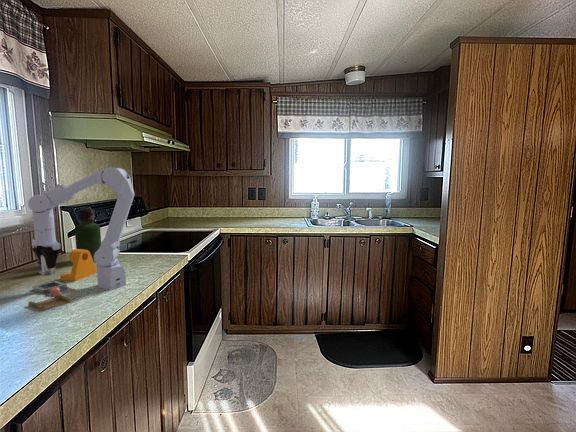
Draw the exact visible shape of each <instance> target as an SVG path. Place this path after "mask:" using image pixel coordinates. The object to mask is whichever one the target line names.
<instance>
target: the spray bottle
mask: <svg viewBox="0 0 576 432" xmlns="http://www.w3.org/2000/svg"><path fill="white" fill-rule="evenodd" d="M77 217H78V220H79V222H81V223H79V224H77V225H76V226H74V236H75V237H74V238H75V249H83V250H88V251H89V252H90V254H91V256H92V259H93V261H94V254H95V252H96V251H97V250H98V249H99V248H100V245H101V243H102V237H101V227H100V225H99V224H98V223H96V222H94V221H95V220H96V213H95V210H94V208H91V207H85V208H79V210H78V212H77ZM94 262H95V261H94Z"/></svg>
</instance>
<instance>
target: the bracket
mask: <svg viewBox="0 0 576 432" xmlns="http://www.w3.org/2000/svg"><path fill="white" fill-rule="evenodd" d="M68 257H69V261H70V262H71V263H72V266H71V271H69V272H66V273H63V274H60V276H59V277H60V281H66V282H67V281H69V282H70V281H71V282H77V281H80V280H82V279H85V278H87V277H90V276H92V275H95V274H97V265H96V264H95V261H93V259H92V256H91V254H90V252H89V251H88V250H83V249H76V248H74V249H72V250H71V251H70V253H69V255H68Z"/></svg>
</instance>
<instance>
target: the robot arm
mask: <svg viewBox="0 0 576 432" xmlns="http://www.w3.org/2000/svg"><path fill="white" fill-rule="evenodd" d="M103 184H104V185H107V186H108V187H110V188H111V189H112V190H113V191H114V193H115V194H116V195H117V199H116V202H115V206H114V209H113V212H112V214H111V218H110V220H109V223H108V225H107V226H108V227H107V230H106V232H105V236H104V238H103V240H101V245H100V248H99V249H98V250H97V251H96V252H95V254H94V263H96V268H97V273H96V275H97V277H96V278H97V287H98V288H100V289H106V290H108V291H109V290H110V291H112V290H115V289H119V288H122V287H125V286H126V285H127V283H126V282H127V280H126V270H125V268H124V267H123V266H121V265H120V260H119V259H118V258H119V256H120V253H121V249H120V245H121V237H122V234H123V230H124V228H125V225H126V222H127V219H128V216H129V214H130V213H129V212H130V210H131V206H132V204H133V201H134V198H135V190H134V187H133V183H132V177H131V176H130V174H128V172H127V170H126V169H124V168H122V167H111V166H110V167H107V168H106V169H102V170H99V171H95V172H93V173H92V174H89V175H87V176H85V177H83V178H82V179H80V180H77V181H75V182H73V183H71V184H67V183H57V184H55V187H53V188H52V189H49V190H46V189H45V190H43V191H42V194H34V195H33V196H32V197H31V196H30V198H29V199H28V203H27V204H28V205H27V206H28V208H29V209H30V210H31V211H32V219H33V221H32V222H33V228H34V229H33V231H34V239H32V243H31V246H33V247H32V248H31V250H32V252H34V254H35V255H36V257H37V261H38V260H39V262H40V265H41V256H40V255H42V254H43V256H44V258H45V262H46V266H47V268H48V269H51V268H55V269H56V265H57V259H58V256H59V254H60V252H61V251H62V247H61V243H59V242H58V240H57V238H56V225H55V215H54V209H55V207H58V206H60V205H62V204H64V203H66V202H68V201H70V200H72V199H74V198H75V197H76V193H80V192H81V191H84V190H87V189H89V188H91V187H93V186H95V185H103ZM41 267H42V266H41Z"/></svg>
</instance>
